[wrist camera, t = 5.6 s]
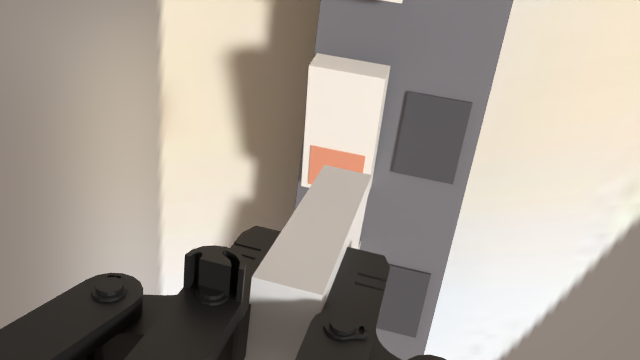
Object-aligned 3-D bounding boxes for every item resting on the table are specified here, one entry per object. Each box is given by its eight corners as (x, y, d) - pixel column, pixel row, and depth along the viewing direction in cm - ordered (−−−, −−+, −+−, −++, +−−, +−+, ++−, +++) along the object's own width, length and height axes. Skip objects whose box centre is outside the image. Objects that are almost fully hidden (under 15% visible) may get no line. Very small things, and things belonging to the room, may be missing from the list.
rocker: (317, 53, 27) (308, 65, 26) (390, 65, 26) (385, 79, 25) (308, 170, 31) (300, 186, 30) (371, 183, 31) (366, 200, 29)
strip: (395, -437, 24) (382, -518, 20) (612, -431, 23) (645, -517, 19) (293, 316, 40) (274, 356, 36) (419, 348, 38) (414, 393, 34)
